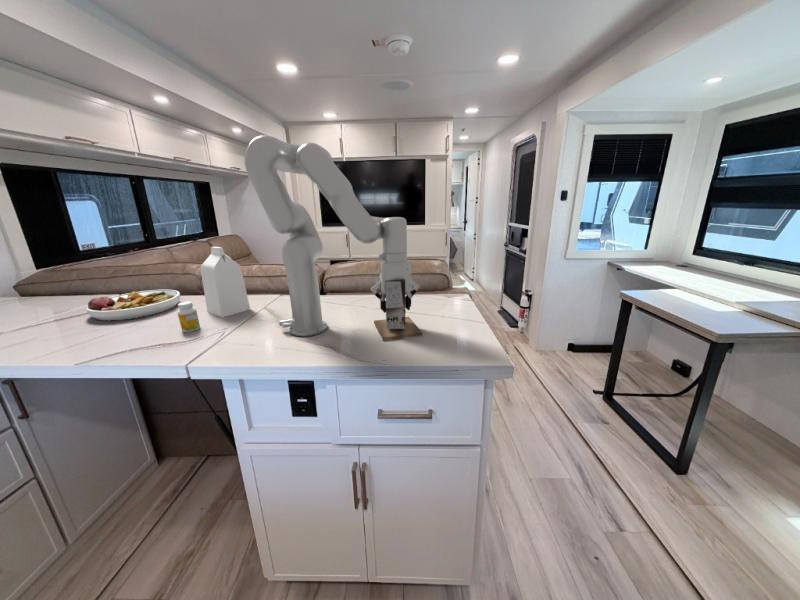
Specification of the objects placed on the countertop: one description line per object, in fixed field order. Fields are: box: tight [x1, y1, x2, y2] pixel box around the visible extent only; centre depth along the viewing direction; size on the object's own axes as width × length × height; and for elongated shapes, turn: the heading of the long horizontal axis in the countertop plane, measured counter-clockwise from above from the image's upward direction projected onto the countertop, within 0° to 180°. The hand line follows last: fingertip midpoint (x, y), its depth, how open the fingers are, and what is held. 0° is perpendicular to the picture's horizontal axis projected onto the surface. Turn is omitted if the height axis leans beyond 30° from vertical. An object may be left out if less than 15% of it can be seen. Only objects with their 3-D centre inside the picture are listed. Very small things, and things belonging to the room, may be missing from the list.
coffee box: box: [385, 279, 407, 329], centre depth 101 cm, size 9×6×16 cm
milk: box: [200, 246, 251, 318], centre depth 122 cm, size 12×12×26 cm
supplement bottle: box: [177, 300, 201, 333], centre depth 106 cm, size 5×5×10 cm
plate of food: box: [86, 289, 181, 322], centre depth 127 cm, size 30×30×8 cm
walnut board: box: [373, 316, 423, 342], centre depth 103 cm, size 13×15×1 cm
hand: (395, 309), depth 102 cm, fingers closed on coffee box, 7 cm apart
